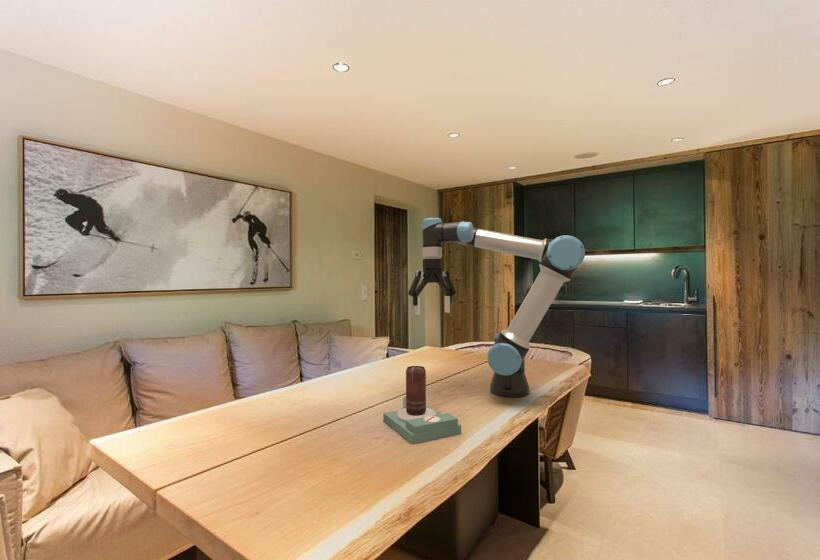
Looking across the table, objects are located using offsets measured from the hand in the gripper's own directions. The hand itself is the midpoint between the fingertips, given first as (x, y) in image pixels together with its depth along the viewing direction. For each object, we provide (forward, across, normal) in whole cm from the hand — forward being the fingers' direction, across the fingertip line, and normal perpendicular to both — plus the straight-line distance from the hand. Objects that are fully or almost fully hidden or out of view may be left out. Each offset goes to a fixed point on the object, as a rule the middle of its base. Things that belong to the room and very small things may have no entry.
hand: (432, 313), depth 156 cm
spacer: (+31, +17, +11) cm, 37 cm away
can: (+28, +21, +24) cm, 43 cm away
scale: (+31, +21, +27) cm, 47 cm away
